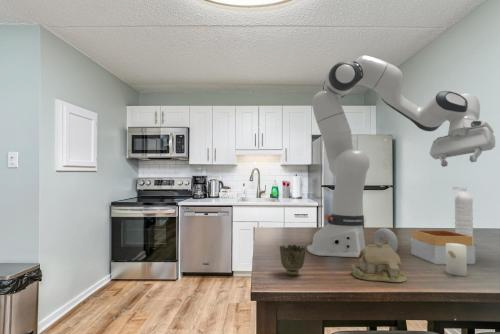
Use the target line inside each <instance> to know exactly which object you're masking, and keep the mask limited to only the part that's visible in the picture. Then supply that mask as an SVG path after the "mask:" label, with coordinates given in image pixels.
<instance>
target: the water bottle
mask: <svg viewBox="0 0 500 334" xmlns="http://www.w3.org/2000/svg"><path fill="white" fill-rule="evenodd" d="M452 190H459V191H458V192H457V194H456V195H455V196H454V225H455V226H454V232H456V233H460V234H464V235H468V236H472V242H473V243H474V229H473V228H474V222H473V221H474V216H473V212H474V211H473V202H474V201H473V197H472V196H471V194H470V192H468V190H467V187H460V186H459V187H457V186H456V187H455V186H452Z"/></svg>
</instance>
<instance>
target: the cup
mask: <svg viewBox="0 0 500 334" xmlns="http://www.w3.org/2000/svg"><path fill="white" fill-rule="evenodd" d="M306 251H307V247H305V246H301V245H298V246H297V244H293V245H291V244H290V243H289V244H288V245H287V247H285V245H280V246H279V253H280V261H281V265H282V267H283V268H284V269H285V270H286V271H285V274H286V275H287V276H289V277H297V276H298V275H299V273H300V272H299V270H301V269H302V268H303V266H304V264H305V263H304V262H305V258H306V256H305V255H306Z"/></svg>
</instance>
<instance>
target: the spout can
mask: <svg viewBox="0 0 500 334" xmlns="http://www.w3.org/2000/svg"><path fill="white" fill-rule="evenodd" d="M467 265H468V264H467V260H466V245H463V244H458V243H446V264H445V273H447V274H449V275H453V276H460V277H466V276H467V269H468V268H467V267H468V266H467Z"/></svg>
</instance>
